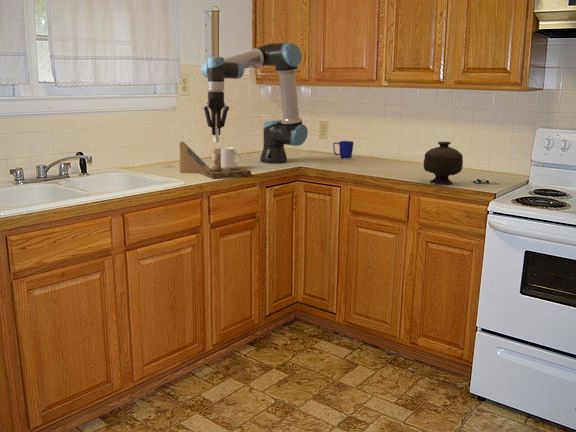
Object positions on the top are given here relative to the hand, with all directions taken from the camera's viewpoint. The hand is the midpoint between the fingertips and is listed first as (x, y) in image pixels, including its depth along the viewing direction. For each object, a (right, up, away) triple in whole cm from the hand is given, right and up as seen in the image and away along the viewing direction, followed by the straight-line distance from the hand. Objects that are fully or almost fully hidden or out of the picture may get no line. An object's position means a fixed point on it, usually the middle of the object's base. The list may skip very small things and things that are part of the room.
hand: (216, 142), depth 272 cm
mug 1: (+4, -11, +26) cm, 28 cm away
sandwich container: (-11, -14, +14) cm, 22 cm away
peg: (0, -16, +4) cm, 16 cm away
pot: (+107, -20, -1) cm, 108 cm away
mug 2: (+67, 0, +74) cm, 100 cm away
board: (+4, -15, +7) cm, 17 cm away
